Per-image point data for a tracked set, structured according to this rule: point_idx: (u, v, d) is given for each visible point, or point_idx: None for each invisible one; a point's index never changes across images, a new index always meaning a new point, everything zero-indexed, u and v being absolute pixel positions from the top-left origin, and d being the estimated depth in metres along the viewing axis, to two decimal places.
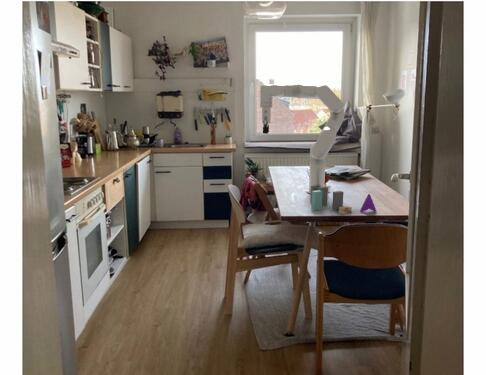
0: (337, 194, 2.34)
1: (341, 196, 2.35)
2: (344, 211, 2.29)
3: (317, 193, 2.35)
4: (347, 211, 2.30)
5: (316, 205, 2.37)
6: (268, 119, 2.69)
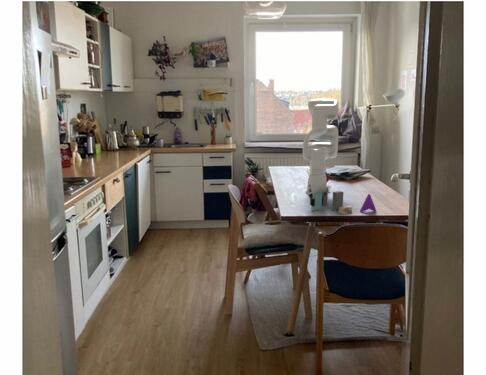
0: (337, 194, 2.34)
1: (341, 196, 2.35)
2: (344, 211, 2.29)
3: (317, 193, 2.35)
4: (347, 211, 2.30)
5: (316, 205, 2.36)
6: None
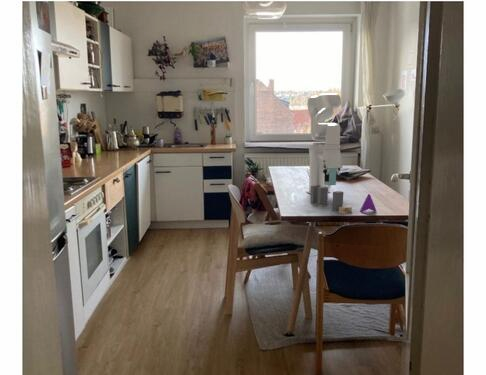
0: (337, 194, 2.34)
1: (341, 196, 2.35)
2: (344, 211, 2.29)
3: None
4: (347, 211, 2.30)
5: (330, 180, 2.38)
6: None
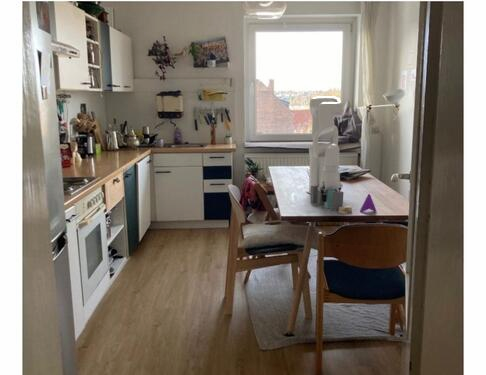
0: (337, 194, 2.34)
1: (341, 196, 2.35)
2: (344, 211, 2.29)
3: (330, 191, 2.40)
4: (347, 211, 2.30)
5: (329, 203, 2.41)
6: None
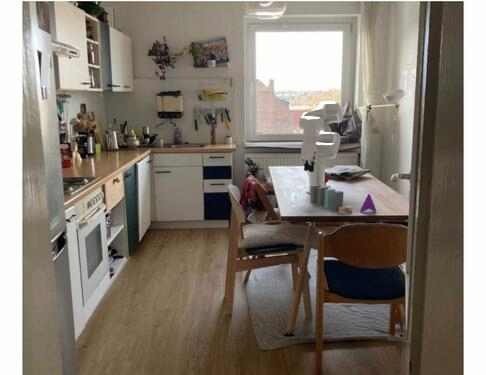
0: (337, 194, 2.34)
1: (341, 196, 2.35)
2: (344, 211, 2.29)
3: (330, 191, 2.40)
4: (347, 211, 2.30)
5: (329, 203, 2.41)
6: None
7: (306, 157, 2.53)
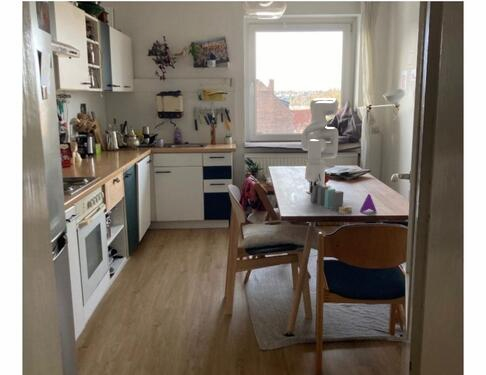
0: (337, 194, 2.34)
1: (341, 196, 2.35)
2: (344, 211, 2.29)
3: (330, 191, 2.40)
4: (347, 211, 2.30)
5: (329, 203, 2.41)
6: None
7: (310, 179, 2.51)
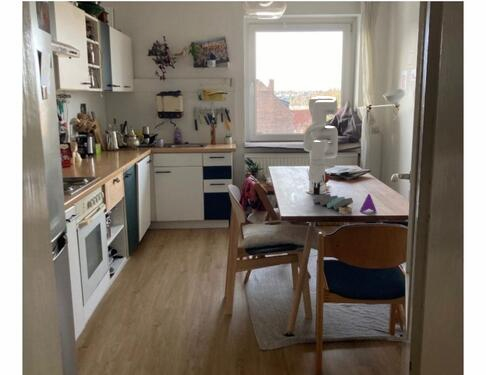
0: (346, 204, 2.28)
1: (348, 204, 2.31)
2: (344, 211, 2.29)
3: None
4: (347, 211, 2.30)
5: (332, 206, 2.39)
6: None
7: (314, 180, 2.48)
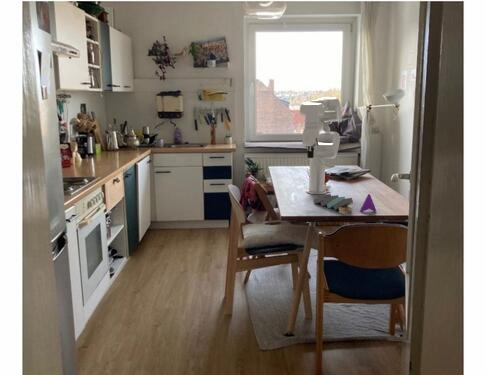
0: (346, 203, 2.28)
1: (348, 204, 2.31)
2: (344, 211, 2.29)
3: None
4: (347, 211, 2.30)
5: (332, 206, 2.39)
6: None
7: (307, 143, 2.50)
